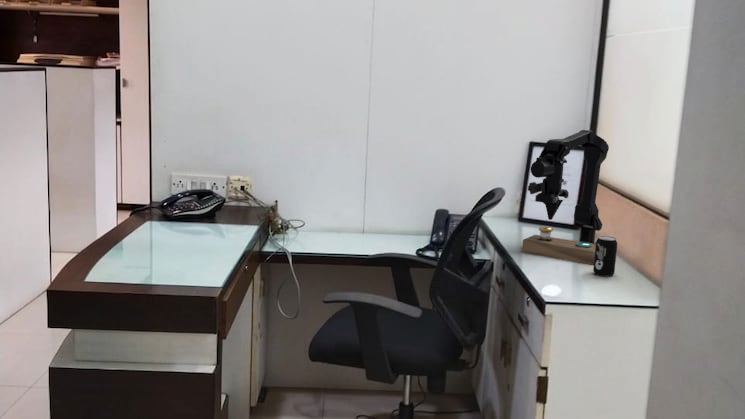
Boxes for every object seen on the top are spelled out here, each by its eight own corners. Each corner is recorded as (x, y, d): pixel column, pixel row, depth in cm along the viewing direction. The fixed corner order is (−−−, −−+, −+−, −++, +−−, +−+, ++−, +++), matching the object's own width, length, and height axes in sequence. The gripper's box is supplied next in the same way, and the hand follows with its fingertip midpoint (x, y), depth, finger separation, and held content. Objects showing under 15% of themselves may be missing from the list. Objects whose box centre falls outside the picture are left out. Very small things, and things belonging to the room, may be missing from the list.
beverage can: (615, 277, 235) (619, 240, 233) (593, 275, 237) (597, 239, 235) (613, 272, 242) (616, 236, 240) (592, 270, 243) (595, 234, 241)
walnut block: (534, 246, 274) (535, 234, 274) (604, 258, 261) (605, 245, 260) (521, 252, 264) (522, 239, 264) (594, 264, 251) (595, 251, 250)
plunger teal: (577, 255, 262) (579, 240, 261) (591, 257, 260) (593, 243, 259) (573, 257, 258) (574, 243, 257) (587, 260, 255) (588, 245, 254)
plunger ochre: (540, 239, 269) (541, 225, 268) (553, 241, 266) (555, 227, 265) (535, 241, 265) (536, 227, 264) (549, 243, 262) (550, 229, 261)
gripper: (540, 171, 272) (537, 213, 275) (522, 175, 257) (519, 220, 259) (570, 174, 267) (566, 217, 270) (554, 179, 251) (550, 224, 254)
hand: (550, 219), depth 263 cm, fingers closed
